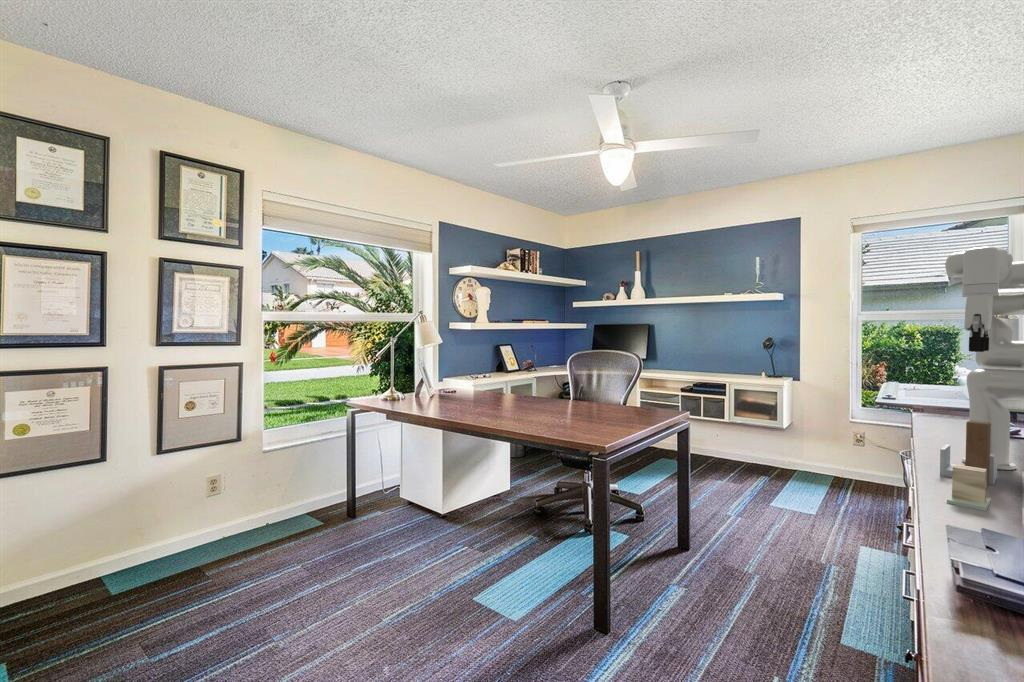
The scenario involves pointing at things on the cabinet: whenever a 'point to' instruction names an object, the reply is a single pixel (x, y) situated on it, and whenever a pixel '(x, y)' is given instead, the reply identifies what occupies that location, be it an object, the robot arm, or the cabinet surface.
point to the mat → (969, 503)
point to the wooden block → (978, 445)
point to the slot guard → (947, 467)
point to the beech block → (969, 483)
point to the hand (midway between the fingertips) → (978, 351)
